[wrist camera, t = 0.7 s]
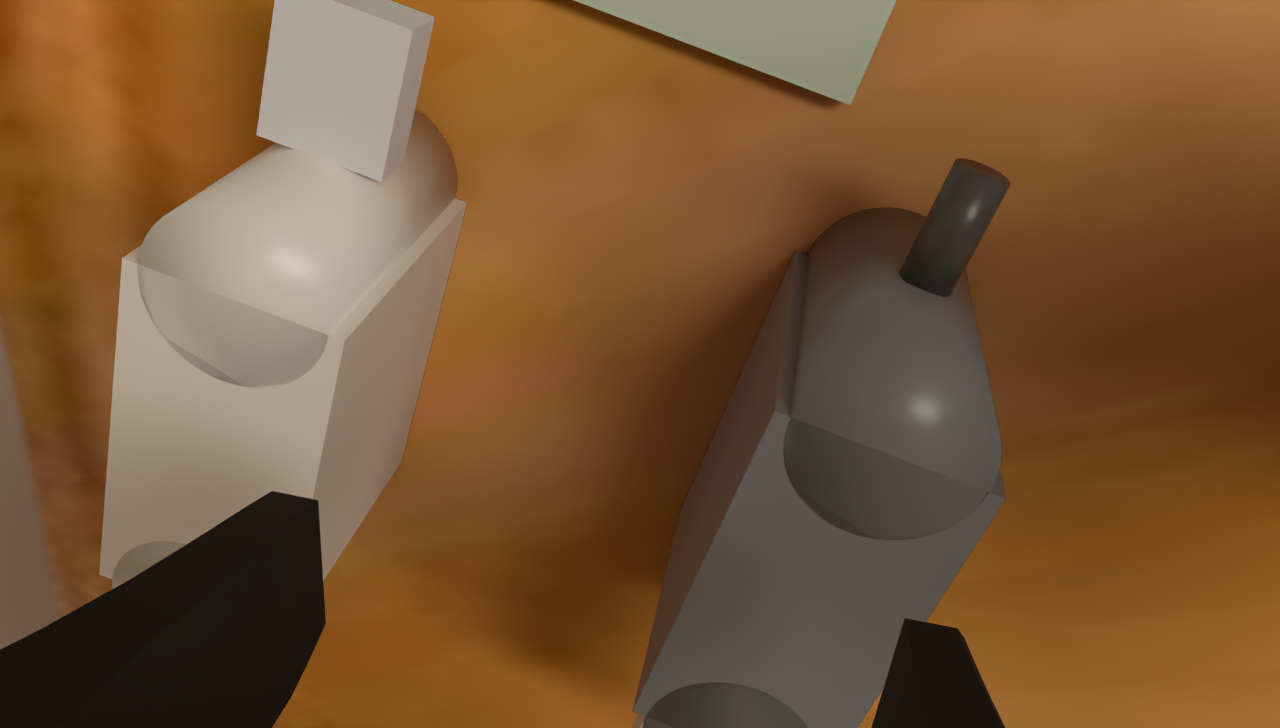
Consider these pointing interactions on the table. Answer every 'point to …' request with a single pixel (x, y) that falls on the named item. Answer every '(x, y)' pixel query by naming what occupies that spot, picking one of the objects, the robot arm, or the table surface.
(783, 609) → the charcoal plug
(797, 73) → the sage pad
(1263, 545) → the table surface
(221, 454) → the white plug
